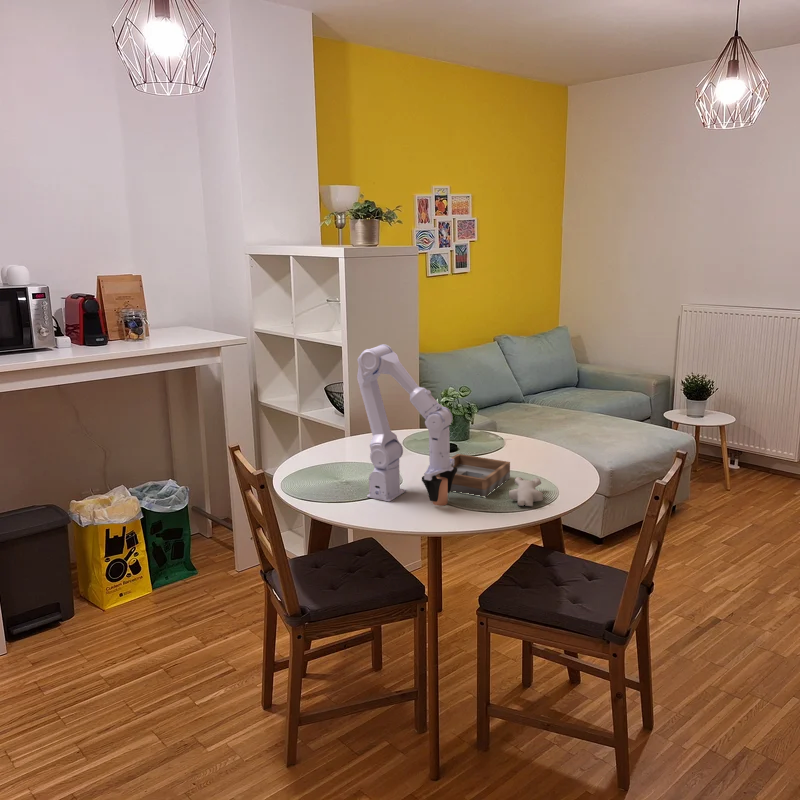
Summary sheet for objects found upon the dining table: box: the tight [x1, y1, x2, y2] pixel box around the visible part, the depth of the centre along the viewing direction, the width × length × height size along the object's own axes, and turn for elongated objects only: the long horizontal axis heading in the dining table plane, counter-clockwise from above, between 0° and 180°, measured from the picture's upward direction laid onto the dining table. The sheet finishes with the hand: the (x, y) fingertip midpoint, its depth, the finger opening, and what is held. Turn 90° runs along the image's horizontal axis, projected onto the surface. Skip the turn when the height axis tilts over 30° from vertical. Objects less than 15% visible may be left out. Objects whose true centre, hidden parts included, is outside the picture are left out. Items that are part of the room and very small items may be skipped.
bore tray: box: [436, 453, 511, 498], centre depth 223 cm, size 18×18×6 cm
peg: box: [431, 477, 449, 507], centre depth 208 cm, size 4×4×7 cm
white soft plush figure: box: [508, 476, 544, 507], centre depth 210 cm, size 10×5×15 cm
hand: (440, 496), depth 208 cm, fingers open, 7 cm apart
